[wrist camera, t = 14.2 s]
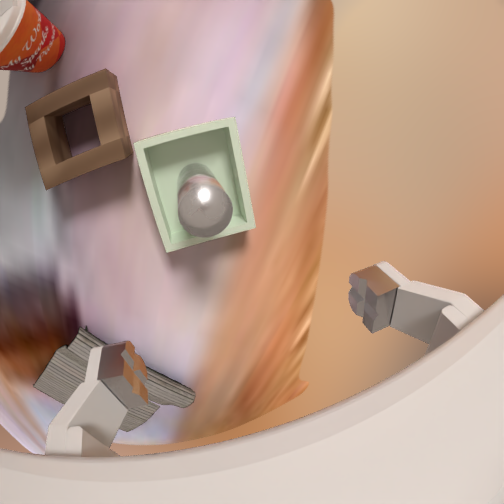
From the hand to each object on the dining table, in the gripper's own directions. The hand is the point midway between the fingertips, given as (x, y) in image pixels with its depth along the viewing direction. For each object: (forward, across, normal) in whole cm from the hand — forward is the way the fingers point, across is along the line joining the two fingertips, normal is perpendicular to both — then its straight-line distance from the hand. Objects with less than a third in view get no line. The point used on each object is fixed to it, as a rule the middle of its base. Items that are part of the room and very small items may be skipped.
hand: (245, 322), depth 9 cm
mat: (+24, +26, +30) cm, 47 cm away
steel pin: (+23, 0, 0) cm, 23 cm away
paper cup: (+25, +14, -21) cm, 35 cm away
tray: (+24, 0, 0) cm, 24 cm away
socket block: (+24, +10, -9) cm, 28 cm away
